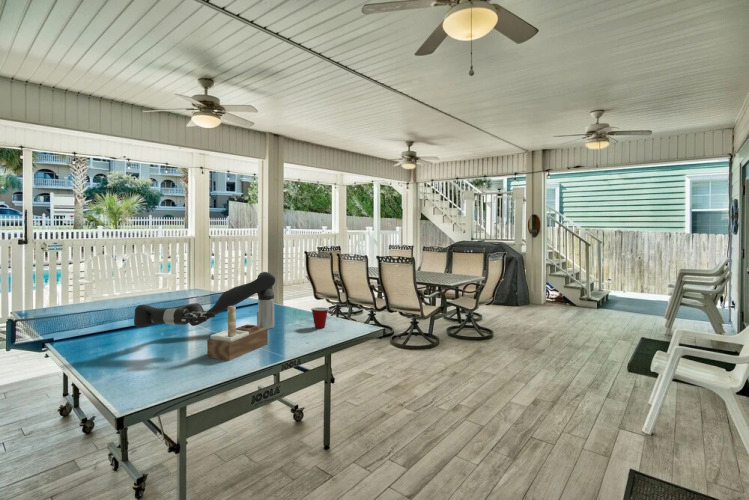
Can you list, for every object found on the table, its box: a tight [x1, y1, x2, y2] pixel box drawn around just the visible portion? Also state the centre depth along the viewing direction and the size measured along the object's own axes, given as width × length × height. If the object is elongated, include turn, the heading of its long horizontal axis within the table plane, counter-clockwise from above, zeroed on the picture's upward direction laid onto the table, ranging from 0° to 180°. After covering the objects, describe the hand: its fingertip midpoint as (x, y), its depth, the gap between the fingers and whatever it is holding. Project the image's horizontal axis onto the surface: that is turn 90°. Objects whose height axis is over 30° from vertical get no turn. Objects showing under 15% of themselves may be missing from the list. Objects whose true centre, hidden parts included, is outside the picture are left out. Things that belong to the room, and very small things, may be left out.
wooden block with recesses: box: [206, 323, 269, 361], centre depth 188 cm, size 13×27×10 cm, turn 158°
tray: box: [210, 329, 249, 342], centre depth 182 cm, size 12×12×2 cm
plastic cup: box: [310, 306, 330, 330], centre depth 232 cm, size 11×11×12 cm
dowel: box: [227, 305, 237, 337], centre depth 182 cm, size 4×4×14 cm
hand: (210, 317), depth 182 cm, fingers open, 8 cm apart
